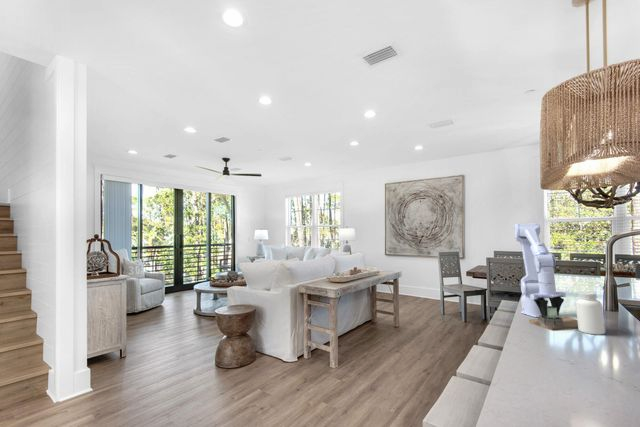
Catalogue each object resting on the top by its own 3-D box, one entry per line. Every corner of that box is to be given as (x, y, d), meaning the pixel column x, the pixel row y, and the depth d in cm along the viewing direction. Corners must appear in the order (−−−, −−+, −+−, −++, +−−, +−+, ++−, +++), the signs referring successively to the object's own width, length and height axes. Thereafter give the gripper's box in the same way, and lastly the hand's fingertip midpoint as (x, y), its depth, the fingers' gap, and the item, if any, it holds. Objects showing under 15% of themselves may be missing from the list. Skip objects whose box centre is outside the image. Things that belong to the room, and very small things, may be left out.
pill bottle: (594, 328, 125) (590, 290, 126) (611, 335, 117) (606, 294, 118) (573, 329, 125) (569, 291, 126) (588, 335, 117) (584, 295, 119)
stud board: (529, 322, 137) (528, 314, 137) (566, 319, 138) (565, 311, 139) (552, 330, 125) (551, 321, 125) (592, 327, 127) (591, 318, 127)
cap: (540, 315, 133) (539, 306, 133) (551, 314, 133) (550, 305, 133) (549, 318, 128) (548, 308, 128) (561, 317, 128) (559, 307, 128)
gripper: (538, 285, 127) (541, 319, 126) (570, 283, 128) (574, 316, 127) (525, 282, 134) (528, 314, 133) (556, 280, 135) (559, 312, 134)
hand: (549, 315), depth 130 cm, fingers closed on cap, 5 cm apart
